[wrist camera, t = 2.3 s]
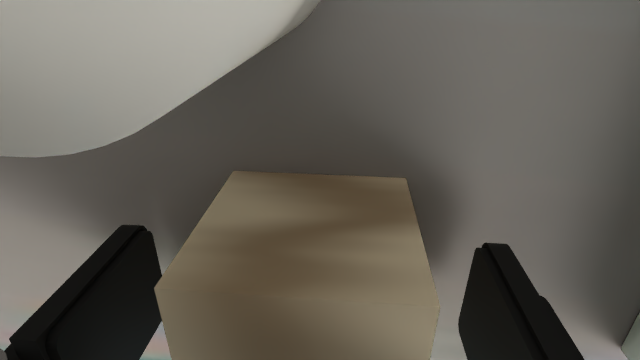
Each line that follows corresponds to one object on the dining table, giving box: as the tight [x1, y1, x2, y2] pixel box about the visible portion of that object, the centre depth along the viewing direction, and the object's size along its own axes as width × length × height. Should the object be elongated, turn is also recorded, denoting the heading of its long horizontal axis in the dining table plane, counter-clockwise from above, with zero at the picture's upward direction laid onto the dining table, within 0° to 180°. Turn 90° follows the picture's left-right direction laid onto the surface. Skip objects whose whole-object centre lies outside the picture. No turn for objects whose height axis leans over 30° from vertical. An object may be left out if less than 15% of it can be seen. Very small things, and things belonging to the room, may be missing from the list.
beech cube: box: [154, 171, 440, 360], centre depth 10 cm, size 5×5×5 cm
